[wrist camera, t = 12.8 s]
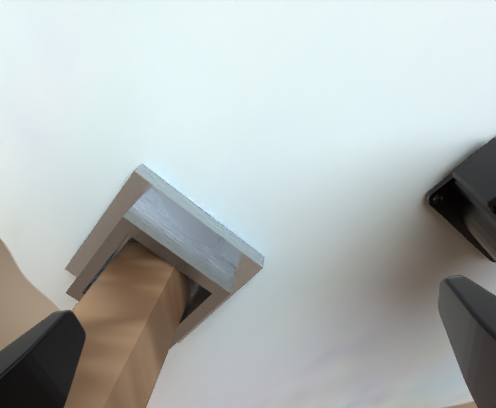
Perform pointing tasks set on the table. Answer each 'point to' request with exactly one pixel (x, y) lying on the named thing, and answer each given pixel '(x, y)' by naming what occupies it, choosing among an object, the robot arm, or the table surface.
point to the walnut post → (127, 329)
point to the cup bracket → (168, 245)
